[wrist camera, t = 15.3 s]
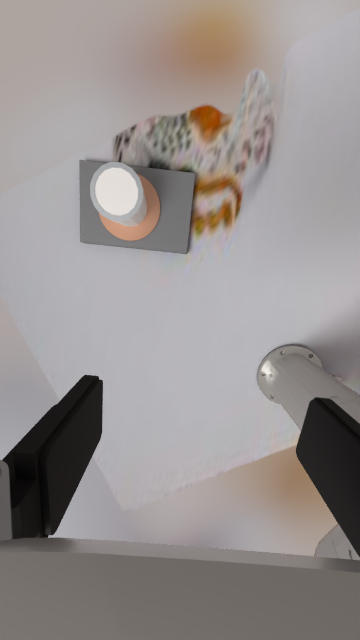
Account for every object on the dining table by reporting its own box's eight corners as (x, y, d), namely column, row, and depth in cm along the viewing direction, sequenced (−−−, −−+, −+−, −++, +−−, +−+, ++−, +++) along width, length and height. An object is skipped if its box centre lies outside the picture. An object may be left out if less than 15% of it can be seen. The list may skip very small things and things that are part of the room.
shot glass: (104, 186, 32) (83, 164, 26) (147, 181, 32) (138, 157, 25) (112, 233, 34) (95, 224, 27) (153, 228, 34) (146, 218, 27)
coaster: (162, 176, 32) (162, 175, 32) (157, 243, 35) (157, 243, 34) (98, 169, 32) (97, 168, 32) (98, 237, 35) (97, 237, 34)
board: (194, 177, 34) (195, 173, 32) (186, 253, 37) (186, 253, 35) (83, 164, 33) (79, 159, 32) (84, 242, 36) (80, 241, 35)
